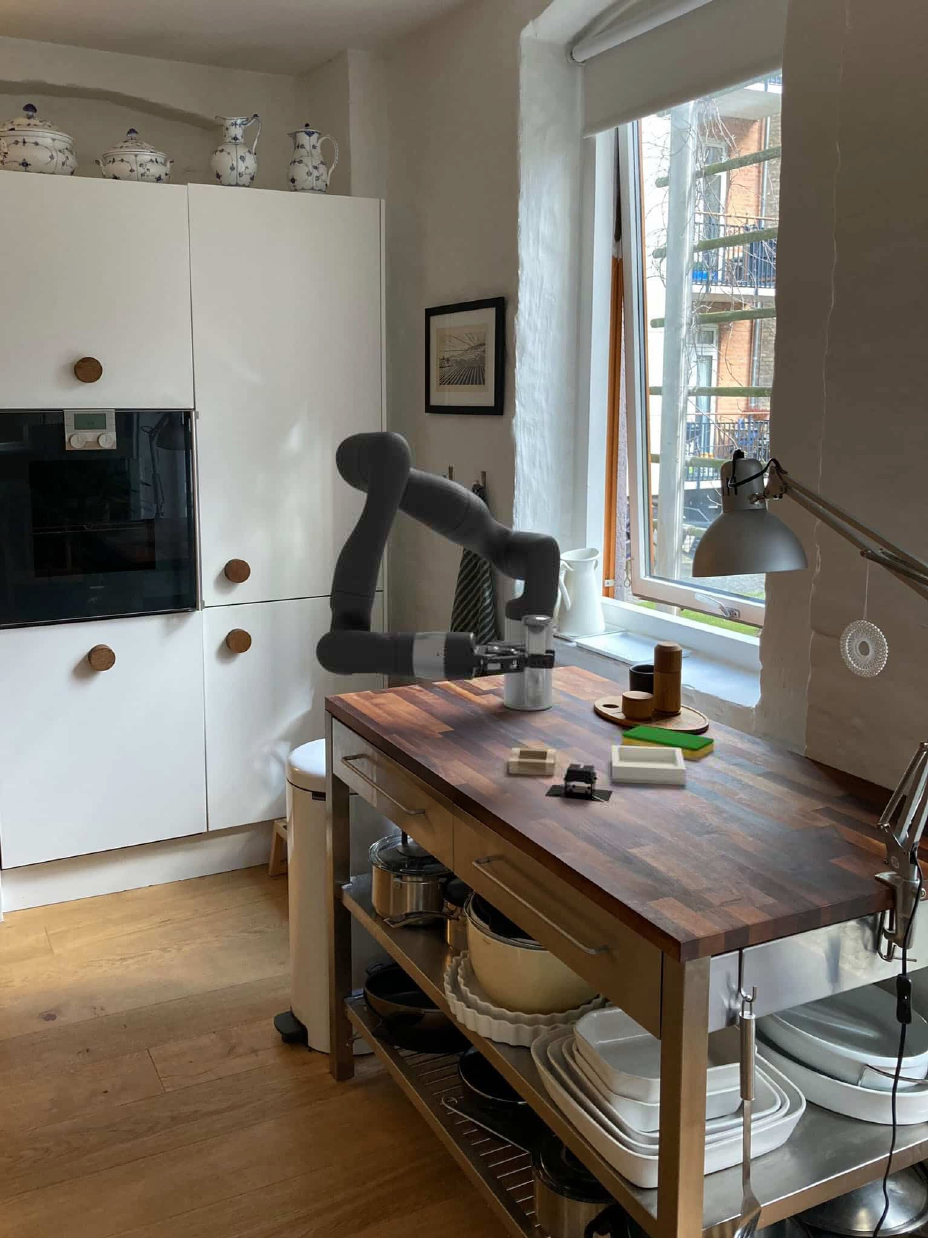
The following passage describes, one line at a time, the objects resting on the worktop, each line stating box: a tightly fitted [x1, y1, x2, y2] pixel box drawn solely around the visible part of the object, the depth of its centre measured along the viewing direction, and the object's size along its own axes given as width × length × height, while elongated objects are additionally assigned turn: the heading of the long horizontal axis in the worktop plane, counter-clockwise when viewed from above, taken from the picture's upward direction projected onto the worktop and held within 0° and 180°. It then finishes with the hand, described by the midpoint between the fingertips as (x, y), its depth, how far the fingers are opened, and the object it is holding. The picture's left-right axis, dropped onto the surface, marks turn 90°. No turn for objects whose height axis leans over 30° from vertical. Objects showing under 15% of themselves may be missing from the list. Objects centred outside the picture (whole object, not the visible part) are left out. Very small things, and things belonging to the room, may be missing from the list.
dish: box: [610, 744, 687, 786], centre depth 177 cm, size 11×11×2 cm
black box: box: [544, 763, 614, 804], centre depth 167 cm, size 12×7×5 cm, turn 73°
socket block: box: [508, 747, 557, 776], centre depth 179 cm, size 7×7×2 cm
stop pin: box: [522, 615, 551, 707], centre depth 176 cm, size 4×4×14 cm
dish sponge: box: [621, 724, 715, 761], centre depth 190 cm, size 7×14×2 cm, turn 53°
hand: (553, 658), depth 176 cm, fingers closed on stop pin, 3 cm apart
